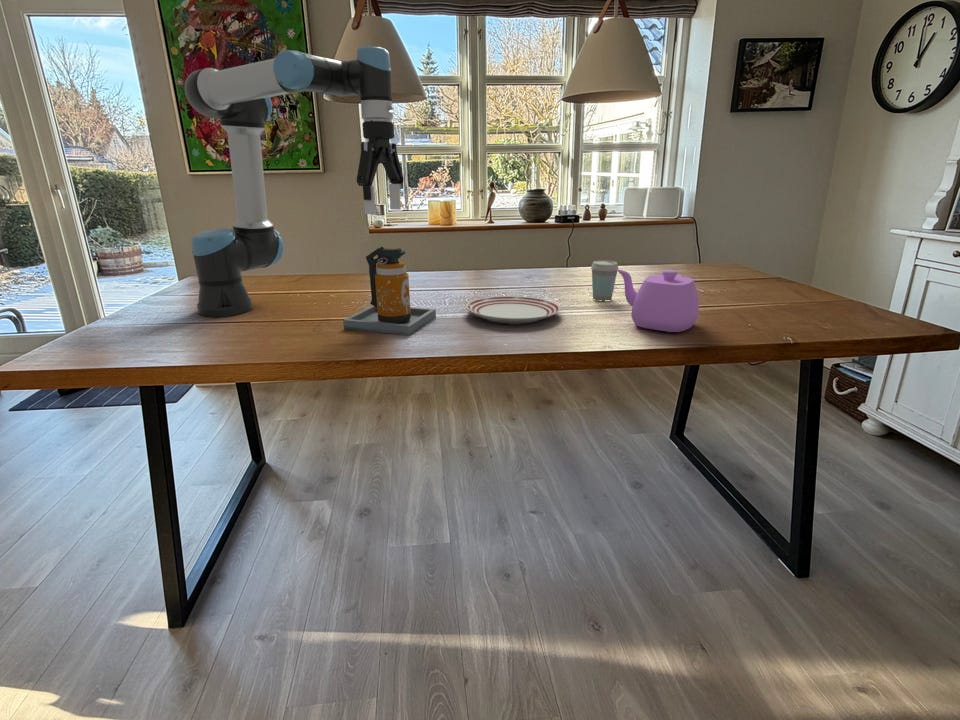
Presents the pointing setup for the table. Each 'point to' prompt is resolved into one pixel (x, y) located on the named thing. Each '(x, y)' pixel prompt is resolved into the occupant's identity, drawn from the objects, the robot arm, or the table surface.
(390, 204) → the robot arm
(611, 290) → the coffee cup
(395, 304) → the canister
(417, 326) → the tray
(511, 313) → the dinner plate
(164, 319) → the table surface
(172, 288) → the table surface
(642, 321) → the teapot
